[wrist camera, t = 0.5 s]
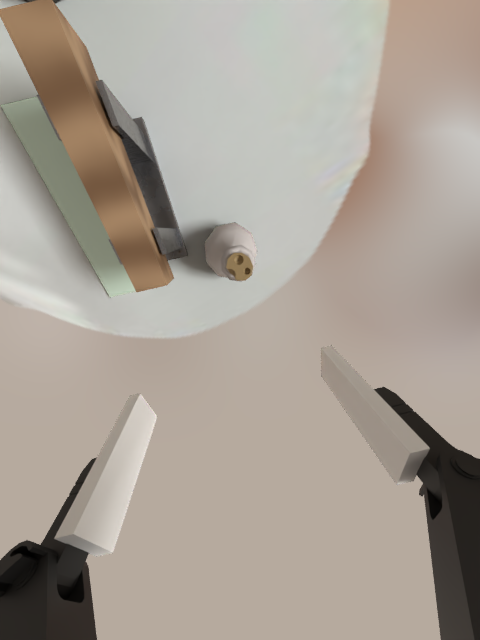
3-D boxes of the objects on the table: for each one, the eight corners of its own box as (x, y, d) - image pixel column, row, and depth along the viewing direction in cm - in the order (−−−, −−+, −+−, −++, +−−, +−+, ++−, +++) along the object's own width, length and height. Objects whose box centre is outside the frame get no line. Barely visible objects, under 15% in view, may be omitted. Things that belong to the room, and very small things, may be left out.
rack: (94, 132, 25) (18, 71, 15) (144, 120, 25) (97, 52, 15) (150, 264, 33) (122, 277, 23) (187, 255, 33) (175, 264, 23)
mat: (4, 107, 23) (0, 105, 23) (65, 93, 23) (62, 90, 23) (111, 296, 35) (110, 297, 34) (151, 287, 35) (150, 287, 34)
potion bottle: (228, 283, 36) (236, 325, 20) (195, 247, 32) (172, 262, 16) (263, 252, 34) (302, 271, 18) (232, 210, 31) (246, 187, 14)
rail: (44, 57, 17) (-4, 9, 13) (86, 47, 17) (50, -3, 13) (147, 284, 27) (136, 292, 23) (174, 277, 27) (166, 285, 23)
